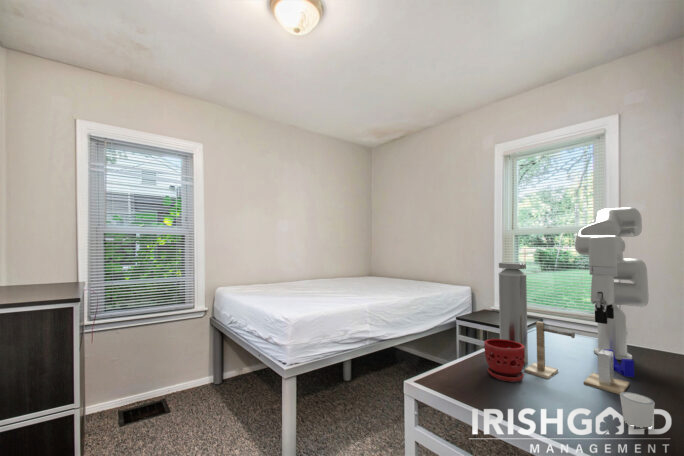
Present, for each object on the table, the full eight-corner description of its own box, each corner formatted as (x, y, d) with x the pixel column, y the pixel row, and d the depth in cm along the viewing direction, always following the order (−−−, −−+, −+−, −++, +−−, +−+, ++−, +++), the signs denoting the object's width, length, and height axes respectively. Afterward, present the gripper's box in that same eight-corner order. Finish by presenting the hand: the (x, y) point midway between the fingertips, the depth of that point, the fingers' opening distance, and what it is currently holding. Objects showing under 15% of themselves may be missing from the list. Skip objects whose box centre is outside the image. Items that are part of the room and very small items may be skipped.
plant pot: (529, 376, 114) (528, 342, 115) (519, 388, 105) (518, 351, 105) (491, 366, 123) (491, 335, 124) (479, 376, 114) (478, 343, 114)
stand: (534, 365, 124) (533, 318, 125) (579, 377, 113) (578, 325, 114) (524, 371, 118) (523, 322, 119) (570, 385, 107) (569, 330, 108)
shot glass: (613, 417, 87) (613, 392, 88) (636, 416, 88) (635, 391, 88) (639, 432, 81) (638, 404, 81) (663, 431, 81) (662, 403, 82)
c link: (603, 377, 111) (602, 349, 112) (614, 380, 109) (613, 351, 109) (598, 382, 107) (597, 353, 108) (610, 385, 105) (609, 355, 105)
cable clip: (599, 363, 127) (598, 348, 127) (611, 364, 126) (611, 349, 126) (620, 376, 115) (619, 359, 115) (634, 377, 114) (633, 360, 114)
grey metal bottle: (527, 368, 122) (525, 264, 123) (498, 362, 127) (497, 263, 129) (528, 359, 130) (526, 263, 132) (501, 354, 136) (499, 262, 137)
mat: (592, 374, 116) (592, 372, 116) (629, 384, 108) (629, 382, 108) (583, 384, 108) (583, 381, 108) (622, 395, 100) (621, 392, 100)
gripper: (596, 268, 118) (597, 314, 118) (582, 272, 107) (584, 322, 107) (622, 270, 112) (623, 318, 112) (611, 274, 101) (613, 327, 101)
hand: (604, 320), depth 109 cm, fingers open, 9 cm apart
